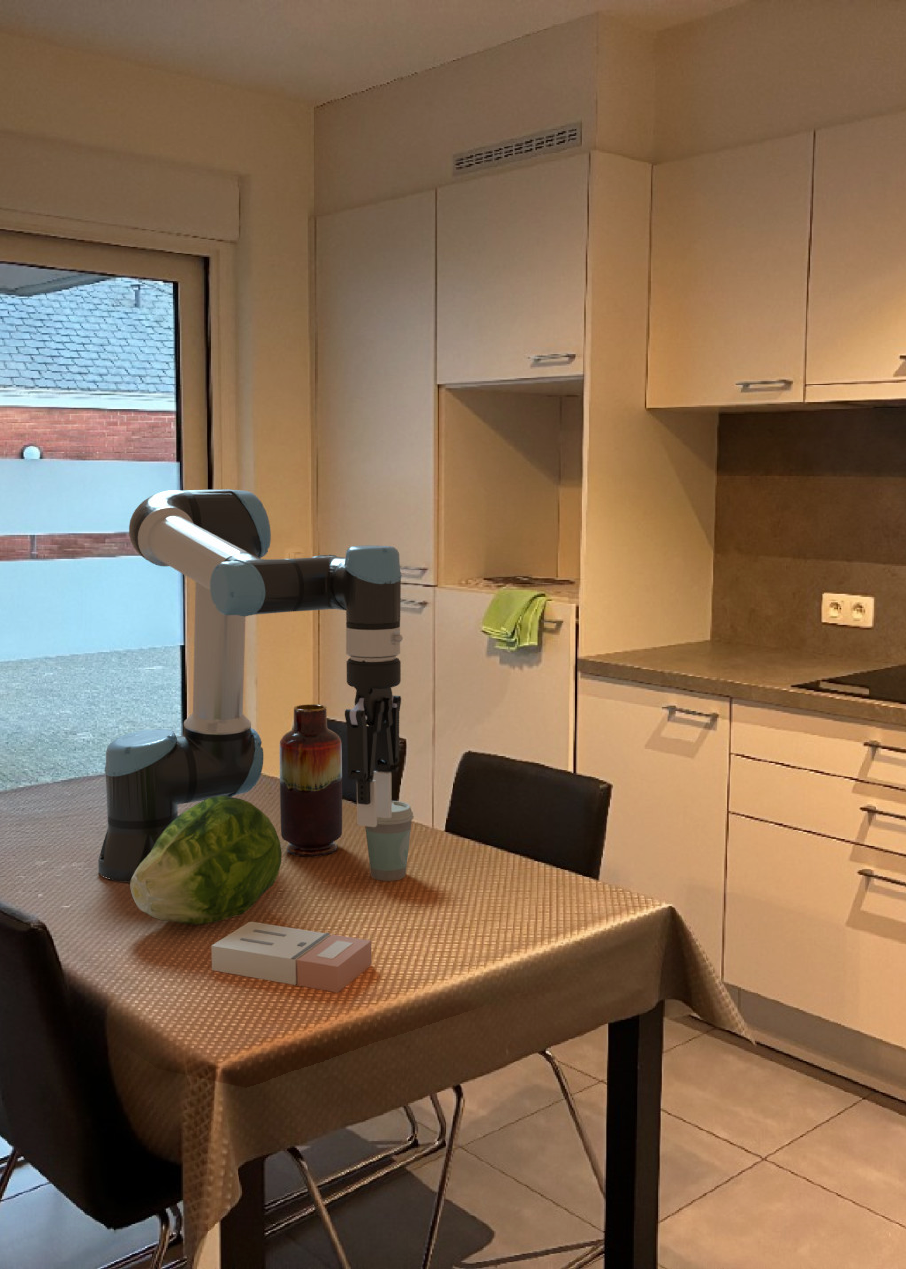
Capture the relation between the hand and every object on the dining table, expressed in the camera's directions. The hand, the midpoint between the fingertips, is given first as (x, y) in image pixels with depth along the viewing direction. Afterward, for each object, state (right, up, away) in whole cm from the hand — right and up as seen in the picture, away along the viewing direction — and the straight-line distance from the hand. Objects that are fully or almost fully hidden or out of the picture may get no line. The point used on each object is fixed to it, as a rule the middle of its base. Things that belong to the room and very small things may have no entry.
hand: (374, 820), depth 176 cm
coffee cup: (0, -15, +34) cm, 37 cm away
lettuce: (-26, -17, +14) cm, 35 cm away
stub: (-5, -20, -7) cm, 22 cm away
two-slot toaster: (-14, -19, -4) cm, 24 cm away
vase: (-14, -13, +49) cm, 53 cm away
